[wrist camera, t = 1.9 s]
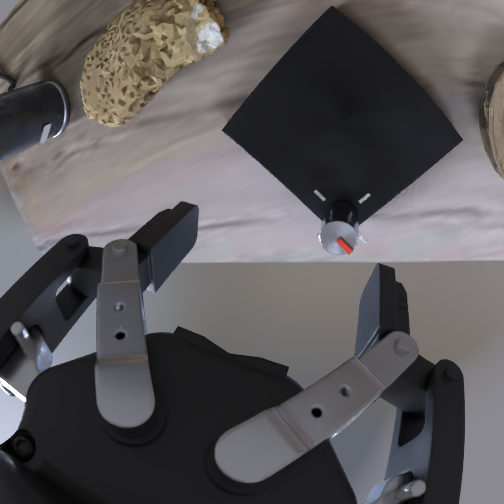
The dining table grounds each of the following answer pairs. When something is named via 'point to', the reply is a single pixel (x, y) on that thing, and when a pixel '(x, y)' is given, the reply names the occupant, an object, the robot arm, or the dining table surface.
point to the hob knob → (339, 228)
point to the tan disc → (494, 118)
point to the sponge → (146, 54)
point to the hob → (341, 121)
